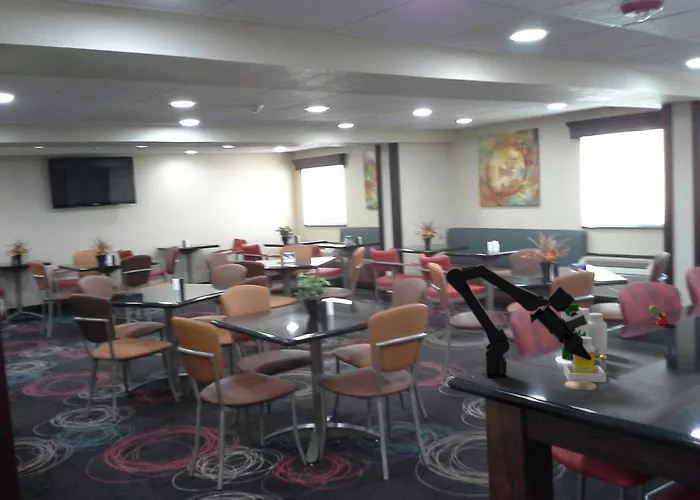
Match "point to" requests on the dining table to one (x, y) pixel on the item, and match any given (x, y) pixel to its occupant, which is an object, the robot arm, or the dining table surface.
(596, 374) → the socket collar
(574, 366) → the supplement bottle
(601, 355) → the brass lever handle
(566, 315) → the milk carton
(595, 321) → the pill bottle
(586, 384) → the coaster
